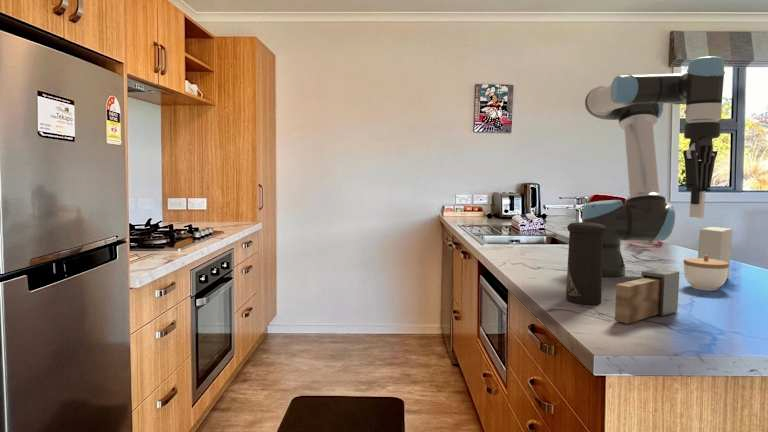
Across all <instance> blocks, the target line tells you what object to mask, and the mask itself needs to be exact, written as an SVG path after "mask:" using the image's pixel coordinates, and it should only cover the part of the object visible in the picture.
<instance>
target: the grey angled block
mask: <svg viewBox="0 0 768 432" xmlns="http://www.w3.org/2000/svg"><path fill="white" fill-rule="evenodd" d="M640 275H641V278H640V279H642V278H647V277H651V276H653V277H659V278H662V283H661V302H660V314H659V316H660V317H665V316H668V315H671V314H674V313H677V312H678V307H679V306H678V305H679V287H680V271H677V270H671V269H665V268H659V267H656V268H651V269H644V270H642V271H641V274H640Z"/></svg>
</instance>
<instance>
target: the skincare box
mask: <svg viewBox="0 0 768 432" xmlns="http://www.w3.org/2000/svg"><path fill="white" fill-rule="evenodd" d="M698 236H699V237H698V250H697V258H704V255H708V259H715V260H721V261H725V262H728V263H729V267H728V275H727V278H726V280H727V279H730V269H731V252H732V238H733V228H729V227H718V226H709V227H704V228H700V229H699V235H698Z"/></svg>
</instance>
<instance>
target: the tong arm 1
mask: <svg viewBox="0 0 768 432" xmlns="http://www.w3.org/2000/svg"><path fill="white" fill-rule="evenodd" d="M654 278H658V277H653V276H651V277H647V278H642V279H641V278H638V279H635V280H631V281H625V282H621V283H617V284H616V286H615V287H616V288H615V307H614V309H615V310H614V321H615V322H618V323H619V322H620V323H622V322H621V312H622V289H623V285H627V284H632V283H636V282H640V281H645V280H649V279H654Z"/></svg>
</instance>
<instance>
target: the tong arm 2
mask: <svg viewBox="0 0 768 432" xmlns="http://www.w3.org/2000/svg"><path fill="white" fill-rule="evenodd" d="M661 283H662V278H659V277H658V278H654V279H649V280H645V281H640V282H636V283H632V284H627V285H623V289H622V312H621V322H620V323H623V324H626V325H628V324H631V323H636V322H639V321H641V320H644V319H648V318H650V317H654V316H657V315H660V302H661Z"/></svg>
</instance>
